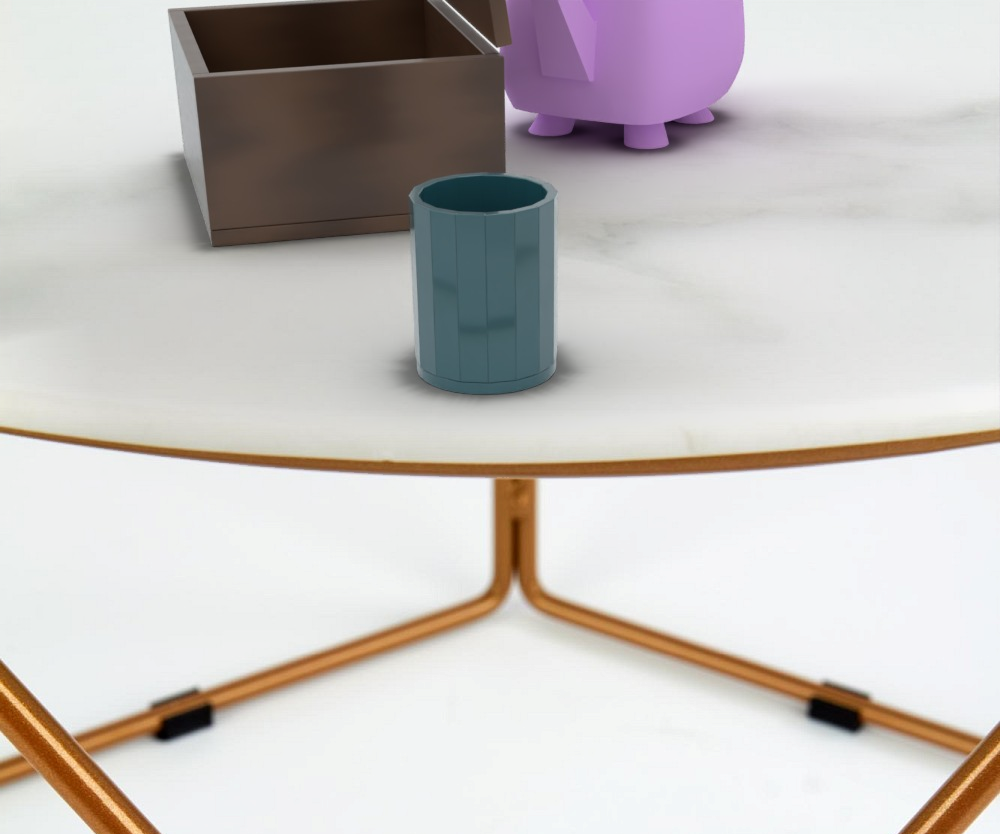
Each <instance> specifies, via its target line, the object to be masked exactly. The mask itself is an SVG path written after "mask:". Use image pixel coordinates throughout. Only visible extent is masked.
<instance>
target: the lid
mask: <svg viewBox="0 0 1000 834" xmlns="http://www.w3.org/2000/svg"><path fill="white" fill-rule="evenodd" d="M444 2H445V3H446V4H447V5H448V6H449V7H451V8H453V10H454V11H455V12H456V13H457V14H458V15H459V16H460V17H461V18H463V19H464V20H465V21H466V22H467V23H468V24H469V25H470V26H471V27H472V28H473V29H474V30H476V31H477V32H478V33H479V34H480V35H481V36H482V37H483V38H484V39H485V40H486V41H488V42H489V43H490V44H491V45H492V46H493V47H494V48H495V49H500V47H503V46H507V45H511V44H512V38H511V32H510V25H509V18H508V12H507V5H506V0H444Z"/></svg>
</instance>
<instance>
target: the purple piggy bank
mask: <svg viewBox="0 0 1000 834" xmlns="http://www.w3.org/2000/svg"><path fill="white" fill-rule="evenodd" d="M506 5H507V12H508V18H509V25H510V32H511V38H512V44H511V45H507V46H503V47H499V51H498V52H499V53H500V54H501V55H503V56H504V71H505V95H506V96H507V99H508V100H509V102H510V103H511V107H512V108H513V109H515V110H518V111H522V112H527V113H533V114H537V115H536V117H535V119H534V120H533V121H532V124H531V125H530V127H529V128H528V130H527V131H528V133H530V134H531V135H535V136H541V137H559V136H565V135H568V134H570V133H572V132H573V129H574V126H575V123H576V121H577V120H580V121H590V122H599V123H600V122H601V123H609V124H615V125H616V124H617V125H623V144H624V146H626V147H628V148H632V149H639V150H656V149H662V148H666V147H667V146H668V145H669V144H670V142H669V137H668V134H667V130H666V126H665V123H668V122H671V121H673V122H676V123H679V124H688V125H699V124H707V123H711V122H713V121H715V116H714V115H713V113H712V112H711V110H710V108H709V107H711V106H712V105H714V104H716V103H717V102H718V101H719V100H721V99H722V98H723V97H725V96H726V94H728V92H729V91H730V89H731V88H732V86H733V84H734V83H735V80H736V78H737V77H738V74H739V72H740V69H741V66H742V64H743V60H744V55H745V45H746V43H745V42H746V27H745V26H746V25H745V24H746V23H745V22H746V21H745V9H744V0H506Z"/></svg>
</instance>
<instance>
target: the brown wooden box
mask: <svg viewBox="0 0 1000 834" xmlns="http://www.w3.org/2000/svg"><path fill="white" fill-rule="evenodd" d="M167 17H168V18H167V19H168V25H169V34H170V35H169V36H170V43H171V51H172V60H173V61H172V62H173V69H174V78H175V86H176V95H177V103H178V104H177V105H178V113H179V121H180V131H181V139H182V147H183V157H184V160H185V163H186V166H187V169H188V172H189V176H190V179H191V182H192V185H193V189H194V192H195V195H196V199H197V202H198V205H199V209H200V211H201V215H202V218H203V221H204V225H205V228H206V231H207V234H208V238H209V241H210V244H211V246H212V248H214V247H226V246H239V245H250V244H261V243H273V242H274V243H275V242H284V241H285V242H286V241H297V240H307V239H319V238H320V239H321V238H330V237H331V238H332V237H342V236H343V237H345V236H355V235H367V234H377V233H389V232H391V233H392V232H402V231H410V222H409V199H408V195H409V194H410V192H411V191H412V189H413V188H414V187H415V186H417V185H419V184H422V183H424V182H426V181H428V180H431V179H435V178H440V177H445V176H449V175H455V174H467V173H479V172H480V173H482V172H487V173H507V169H506V168H507V163H506V162H507V161H506V156H507V155H506V92H505V71H504V56H503V55H501V54H500V53H499V52H500V51H498V50H497V48H496V47H495V46H494V45H492V44H491V43H490V42H489V41H488V40H487V39H486V38H485V37H484V36H483V35H482V34H481V33H479V32H478V31H477V30H476V29H475V28H474V27H473V26H472V25H471V24H470V23H469V22H468V21H466V20H465V19H464V18H463V17H462V16H461V15H460V14H459V13H458V12H457V11H456V10H455V9H452V7H451V6H450V5H449V4H448V3H447V2H446V1H445V0H290V1H273V2H257V3H255V2H254V3H239V4H224V5H223V4H222V5H207V6H190V7H174V8H173V7H172V8H167Z"/></svg>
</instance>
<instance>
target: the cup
mask: <svg viewBox="0 0 1000 834" xmlns="http://www.w3.org/2000/svg"><path fill="white" fill-rule="evenodd" d="M408 199H409V222H410V230H409V240H410V241H409V242H410V243H409V244H410V263H411V265H410V266H411V267H410V268H411V285H412V287H411V289H412V307H413V309H412V310H413V331H414V334H413V335H414V354H415V356H414V357H415V360H416V371H417V373H418V376H419V377H420V379H422V380H423V381H424V382H425V383H427V384H429V385H430V386H432V387H435V388H438V389H441V390H444V391H448V392H453V393H459V394H466V395H500V394H501V395H503V394H508V393H516V392H520V391H521V392H522V391H524V390H528V389H532V388H534V387H537V386H539V385H542V384H543V383H546V382H547V381H548V380H549V379H550V378H551V377H552V376H554V374H555V372H556V369H557V356H558V267H559V265H558V257H559V256H558V255H559V254H558V252H559V249H558V247H559V246H558V245H559V244H558V242H559V239H558V237H559V235H558V234H559V233H558V232H559V231H558V229H559V208H558V207H559V191H558V190H557V189H556V188H555V187H554V186H553V185H552V183H551V182H548V181H545V180H542V179H540V178H537V177H535V176H529V175H523V174H518V173H517V174H516V173H511V172H510V173H508V172H506V173H487V172H482V173H480V172H479V173H467V174H455V175H449V176H445V177H440V178H435V179H431V180H428V181H426V182H424V183H422V184H419V185H417V186H415V187H414V188H413V189H412V191H411V192H410V194H409V195H408Z"/></svg>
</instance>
